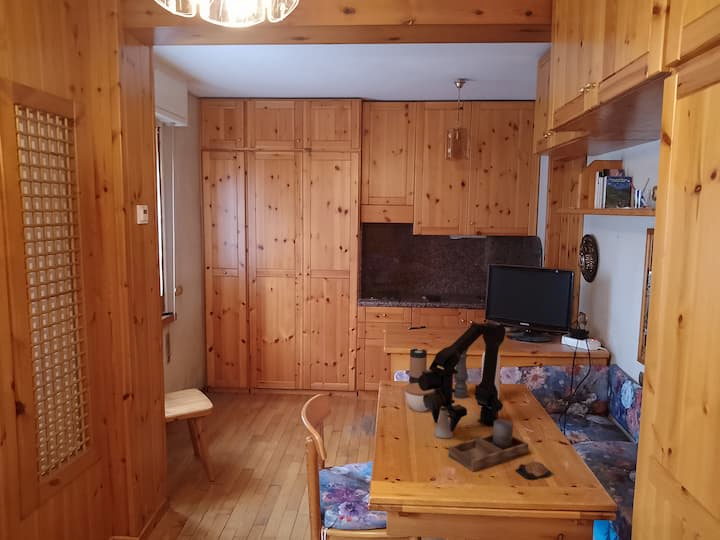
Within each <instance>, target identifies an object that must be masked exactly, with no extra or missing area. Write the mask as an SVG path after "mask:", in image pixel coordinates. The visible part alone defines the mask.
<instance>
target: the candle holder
mask: <svg viewBox="0 0 720 540" xmlns="http://www.w3.org/2000/svg"><path fill="white" fill-rule="evenodd" d="M468 351H469V348H468V349H467V350H466V351H465V352H464V353H463V354H462V355H461V357H460V361H459V362H458V364H457V365H456V367H455V370H456V371H458V373H457V374H453V378H454V379H455V384H453V387H454V388H453V389H455V392H454V393H453V397H454V398H456V399H467V398H468V396H469V395H468V391H469V390H468V385H467V384H466V383H467V381H468V378H469V374H468V369H467V358H468V357H469V356H468V354H467V352H468Z"/></svg>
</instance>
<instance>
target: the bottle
mask: <svg viewBox="0 0 720 540" xmlns="http://www.w3.org/2000/svg"><path fill="white" fill-rule="evenodd" d="M484 356H485V351H484V352H483V353H482V356H481V372H480V373H481V376H480V382H481V381H482V374H483V365H484ZM500 376H501V356H500V353H499V352H498V359H497V367H496V376H495V386H496V388H497V391H498V399H499V400H500V382H501V377H500Z"/></svg>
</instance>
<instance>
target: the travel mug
mask: <svg viewBox="0 0 720 540" xmlns="http://www.w3.org/2000/svg"><path fill="white" fill-rule="evenodd" d="M409 353H410V354H409V384H412V383H418V379H419V377H420V376H421V375H422V372H423V371H428V370H427V363H428V361H427V360H428V354H427V353H428V351H427V350H426V349H425V348H424V349H418V348H412V349H410V351H409Z"/></svg>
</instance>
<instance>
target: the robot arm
mask: <svg viewBox="0 0 720 540" xmlns="http://www.w3.org/2000/svg"><path fill="white" fill-rule="evenodd" d="M506 331H507V330H506V327H505V326H504V325H502V324H499V323H496V322H490V321H487V322H486V323H481V322H472V323H471V324H470V326H469V328H468V329H466V331H464V333H462V335H460V336H459V337H458V339H456V340H455V341H454V342H453V343H452V344H451V345H449V346H446V347H443V348H441V349H440V350H439V351H438V352H437V353H435V357H434V358H433V360H432V362H431V364H430V366H429V367H428V370H427V371H423V372H422V375H421V376H420V377H419V379H418V384H419V387H420V389H421V390H422V391H427V390H432V389H434V393H430V394H425V395H424V397H423V402H424V405H425V408H428V410H429V411H430V412H431V416H432V418H433V422H434V424H438V421H439V419H440V413H441V411H440V408H446V409H448V415H447V416H448V419H449V423H450V431H451V432H453V433H454V431H455V430H456V428H457V426H458V424H459V423H460V421H461V419H462V418H464V417H465V416H467V415H468V409H467V407H465V406H463V405H461V404H456V405H453V404H455V403H456V400H455V399H453V397H454V392H455V389H454V388H453V387H454V374H457V373H458V371H456V366H457V364H458V362H459V361H460V357H461V355H462V354H463V353H464V352H465V351H466V350H467V349H468V350H469V348H470V347H471V346H472V345H473V344H474V343H475V342H476V341H477V340H478V339H479V337H481V336H482V339H483V342H484V344H485V350H484V352H485V356H484V365H483V374H482V381H481V380H480V382H479V384H476V385H475V386H474V390H475V391H474V394H473V395H474V398H475V401H476V403H477V405H478V406H480V415H479V419H477V422H479V423H481V424H483V425H484V426H487V427H489V428H490V427H494V421H495V420H498V419H499V412H501V411H502V410H503V406H504V404H503V402H502V401H501V400H500V398H499V399H498V391H497V388H496V386H495V376H496V367H497V359H498V353H499V349H500V346H501V345H502V344H503V343H504V341H505V336H506Z"/></svg>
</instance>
